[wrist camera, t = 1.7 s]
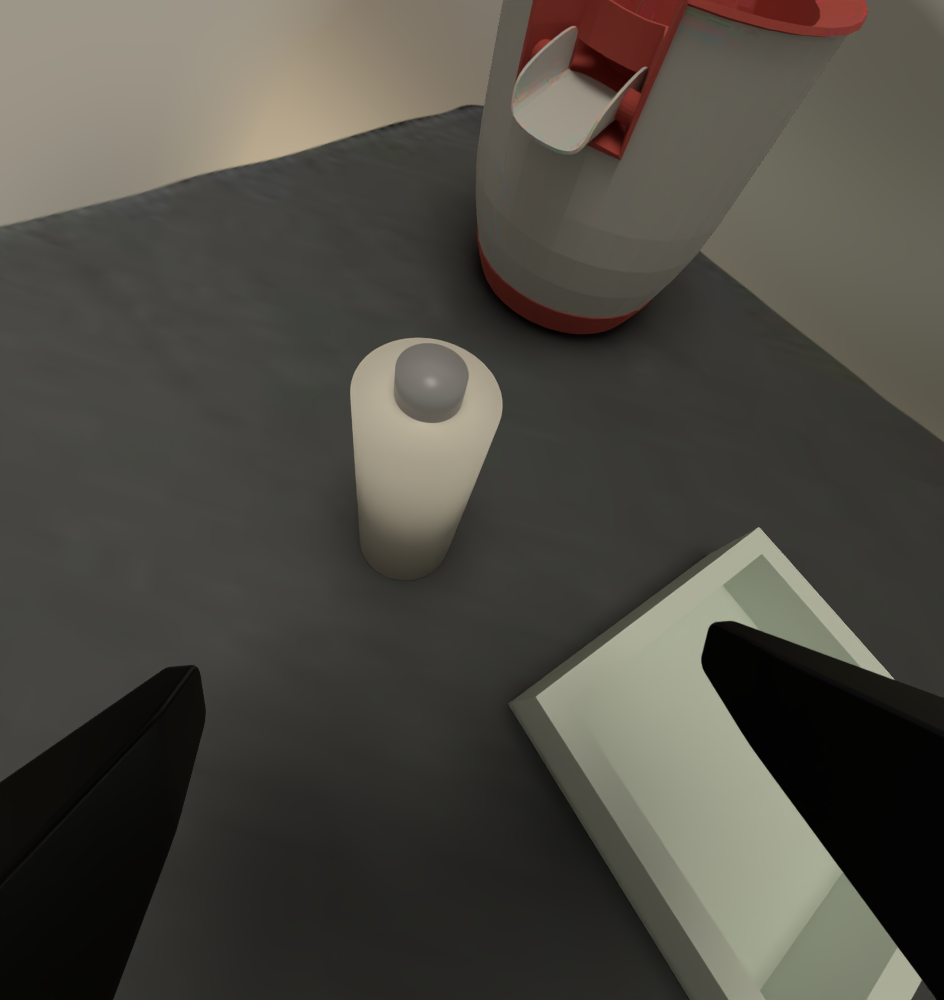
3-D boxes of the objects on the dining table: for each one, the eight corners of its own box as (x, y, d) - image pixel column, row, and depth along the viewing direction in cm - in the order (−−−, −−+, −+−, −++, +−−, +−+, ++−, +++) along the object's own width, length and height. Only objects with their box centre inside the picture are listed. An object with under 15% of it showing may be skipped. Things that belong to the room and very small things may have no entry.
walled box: (730, 1066, 17) (826, 1153, 13) (507, 703, 21) (535, 696, 17) (910, 801, 22) (1012, 813, 19) (707, 555, 26) (758, 527, 23)
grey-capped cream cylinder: (387, 597, 22) (401, 464, 11) (343, 521, 23) (319, 338, 12) (465, 553, 23) (541, 402, 13) (421, 484, 25) (457, 296, 14)
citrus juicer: (389, 279, 31) (411, -309, 14) (530, 188, 39) (659, -256, 22) (579, 416, 29) (899, -78, 11) (688, 290, 37) (974, -113, 19)
